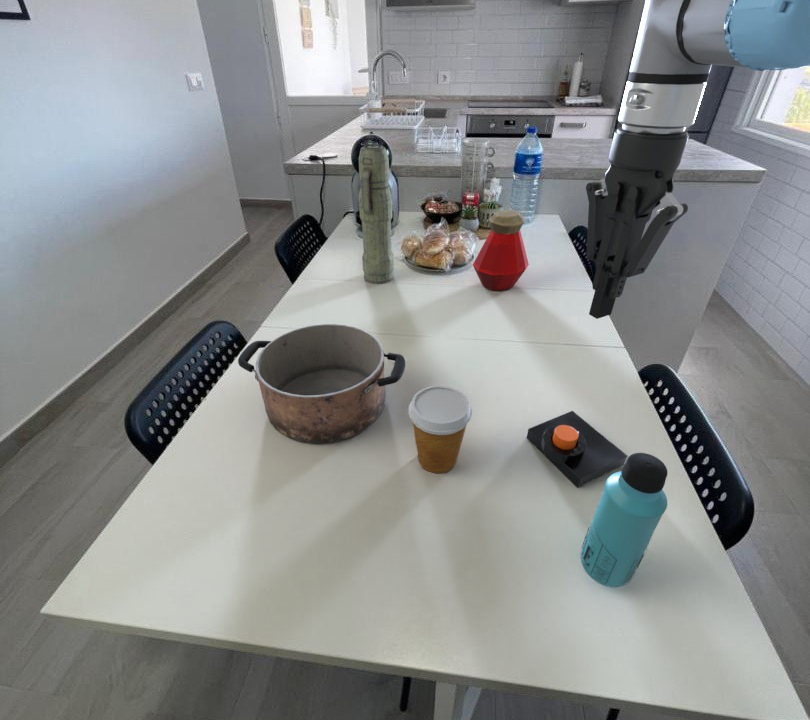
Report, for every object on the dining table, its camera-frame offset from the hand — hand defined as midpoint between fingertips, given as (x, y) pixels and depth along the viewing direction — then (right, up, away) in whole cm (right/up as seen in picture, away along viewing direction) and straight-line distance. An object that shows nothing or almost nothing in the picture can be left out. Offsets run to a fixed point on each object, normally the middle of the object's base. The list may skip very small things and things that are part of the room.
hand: (599, 314), depth 63 cm
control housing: (+1, -22, +12) cm, 25 cm away
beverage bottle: (-2, -34, -5) cm, 34 cm away
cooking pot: (-42, -15, +22) cm, 50 cm away
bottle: (-1, +15, +63) cm, 65 cm away
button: (-2, -20, +9) cm, 21 cm away
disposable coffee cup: (-22, -23, +11) cm, 34 cm away
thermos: (-35, +18, +67) cm, 78 cm away
